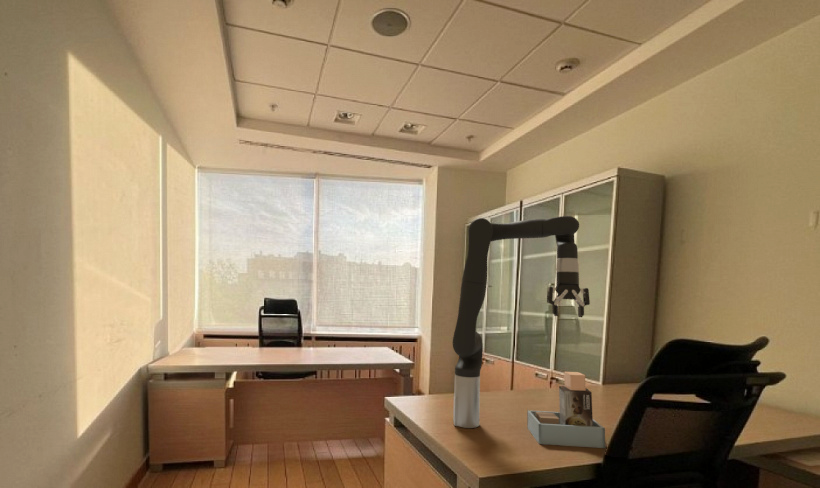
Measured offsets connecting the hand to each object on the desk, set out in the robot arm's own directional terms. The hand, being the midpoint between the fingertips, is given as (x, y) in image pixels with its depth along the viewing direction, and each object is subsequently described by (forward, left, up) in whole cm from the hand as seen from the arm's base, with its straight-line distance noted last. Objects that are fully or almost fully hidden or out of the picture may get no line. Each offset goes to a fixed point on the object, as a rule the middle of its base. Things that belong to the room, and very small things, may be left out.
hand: (568, 316), depth 134 cm
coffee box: (+1, -2, -40) cm, 40 cm away
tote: (-3, -2, -40) cm, 40 cm away
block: (-9, -2, -39) cm, 40 cm away
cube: (+1, -3, -24) cm, 24 cm away
